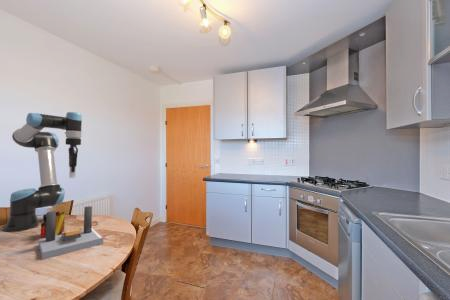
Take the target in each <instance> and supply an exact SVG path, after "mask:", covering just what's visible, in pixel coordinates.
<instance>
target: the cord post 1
mask: <svg viewBox="0 0 450 300" xmlns="http://www.w3.org/2000/svg"><path fill="white" fill-rule="evenodd" d="M56 212H57V211H55V210H54V211H48V212H46V214H47V215H46V242H50V241H54V240H55V222H56Z"/></svg>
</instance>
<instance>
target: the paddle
mask: <svg viewBox="0 0 450 300" xmlns="http://www.w3.org/2000/svg"><path fill="white" fill-rule="evenodd" d="M79 233H81V230H79V229H72V230H67V231H64V236H69V235H74V234H79Z"/></svg>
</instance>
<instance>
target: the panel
mask: <svg viewBox="0 0 450 300" xmlns="http://www.w3.org/2000/svg"><path fill="white" fill-rule="evenodd" d="M78 230H81V233H79V234H74V235H69V236H64V232H65V231H64V232H62V235H57V236H55V240H54V241H50V242H46V238H43V239H41V238H39V239H38V247H39V252H40V255H41V258H42V259H41V260H45V259H50V258H54V257H57V256H61V255H64V254H68V253H73V252H77V251H79V250H80V249H81V250H85V249H88V248H91V246H92V247H96V246H100V245H103V244H104V237H103V236H102V235H101V234H100V233H99V232H98V231H97V230H96V229H95V228H93V227H91V232H90V233H84V229H82V228H78ZM95 245H96V246H95ZM87 247H88V248H87ZM84 248H85V249H84ZM81 250H80V251H81Z"/></svg>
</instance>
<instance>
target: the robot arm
mask: <svg viewBox="0 0 450 300" xmlns="http://www.w3.org/2000/svg"><path fill="white" fill-rule="evenodd" d="M82 117H83V116H82V114H81V113H79V112H73V111H69V112H66V115H65V116H57V115H52V114H45V113H38V112H28V113H27V115H26V119H25V121H26V122H25V124H24V125H23V126H22V127H21V128H18V129H16V130H15V131H13V132H12V135H11V137H12V140H13V141H14V143H15V144H17V145H19V146H21V147H24V148H29V149H34V151H35V153H37V156H38V157H37V158H38V166H39V167H38V168H39V177H40V178H39V179H40V186H39V187H38V189H37V188H26V189H25V188H24V189H20V190H17V191H13V192H11V194H10V199H9V203H10V204H9V217H8V220H7V221H6V224H5V226H4V230H5V232H19V231H25V230H29V229H33V228H36V227H38V226H39V223H40V222H39V219H38V217H37V215H36V214H37V213H36V210H37V209H39V208H40V209H41V208H42V209H43V208H47V207H54V206H58V205H60V204H62V203H63V201H64V199H65V196H66V195H65V194H66V192H65V188H64V187H61V185H60V184H59V183H58V180H57V173H56V163H55V161H56V160H55V153H54V152H55V151H56V150H57V149H58V147H59V142H60V141H59V137H58V135H57V134H56V133H54V132H50V131H42V130H43V129H44V128H45V129H57V130H63V131H64V130H65V132H64V135H65V145H67V146H68V145H69V147H68V167H69V171H68V172H69V173H68V174H69V178H70V179H71V178H73V179H74V178H76V168H77V163H78V153H79V149H78V147H77V146H80V145H82V123H83V122H82V121H83V120H82Z"/></svg>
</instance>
